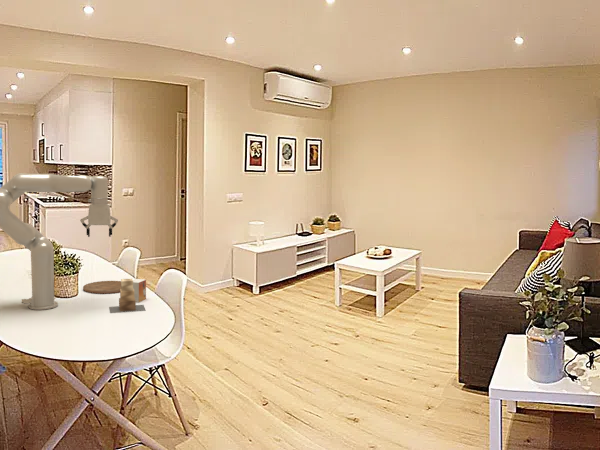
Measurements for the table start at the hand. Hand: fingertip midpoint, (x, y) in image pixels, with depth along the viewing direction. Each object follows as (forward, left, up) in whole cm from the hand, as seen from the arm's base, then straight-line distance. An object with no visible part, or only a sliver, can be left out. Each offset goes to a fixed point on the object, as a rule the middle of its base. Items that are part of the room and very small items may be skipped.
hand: (99, 236), depth 259 cm
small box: (+18, -1, -33) cm, 38 cm away
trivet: (+5, +29, -34) cm, 44 cm away
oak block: (+12, -16, -28) cm, 35 cm away
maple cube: (+12, -17, -24) cm, 31 cm away
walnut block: (+12, -16, -33) cm, 38 cm away
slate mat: (+12, -16, -33) cm, 39 cm away
